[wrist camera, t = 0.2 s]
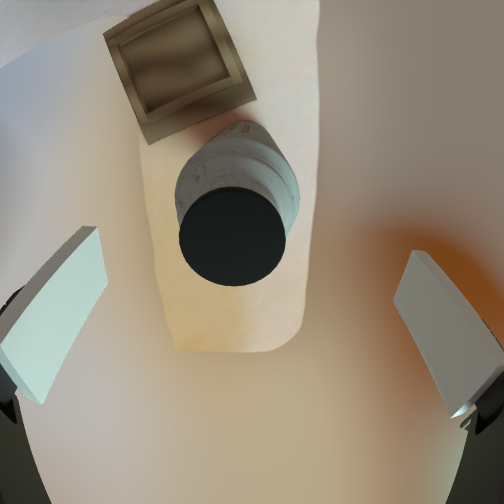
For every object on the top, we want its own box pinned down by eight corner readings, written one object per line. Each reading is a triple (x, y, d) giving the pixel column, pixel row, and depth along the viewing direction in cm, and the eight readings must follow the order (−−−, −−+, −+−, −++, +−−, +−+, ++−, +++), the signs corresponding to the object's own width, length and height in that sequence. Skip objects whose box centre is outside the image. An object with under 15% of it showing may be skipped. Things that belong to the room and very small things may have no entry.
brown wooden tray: (104, 34, 27) (97, 31, 25) (205, -16, 25) (202, -22, 23) (150, 144, 37) (144, 147, 34) (256, 99, 34) (257, 99, 32)
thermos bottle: (209, 129, 36) (120, 182, 11) (267, 115, 35) (304, 135, 10) (223, 182, 40) (179, 321, 15) (279, 170, 39) (327, 296, 14)
